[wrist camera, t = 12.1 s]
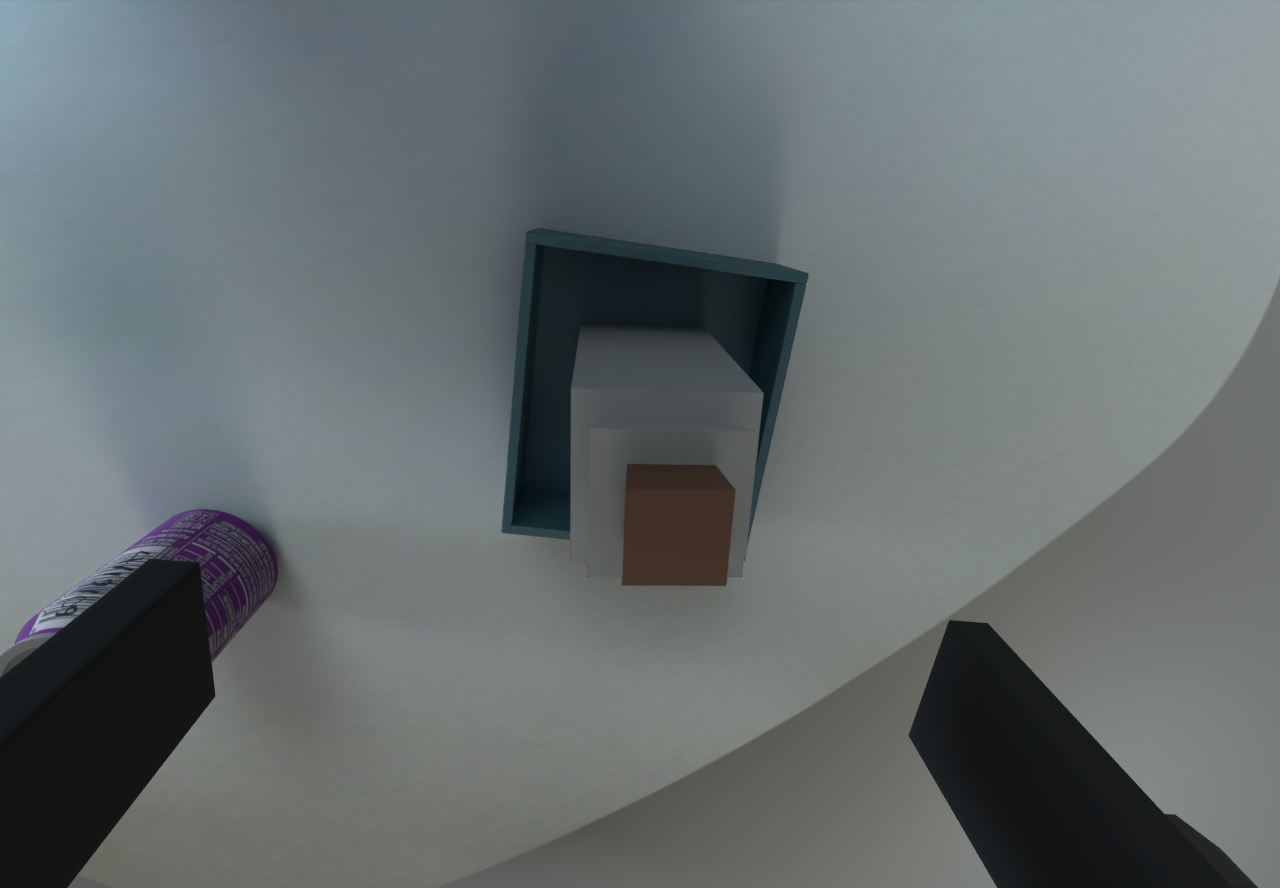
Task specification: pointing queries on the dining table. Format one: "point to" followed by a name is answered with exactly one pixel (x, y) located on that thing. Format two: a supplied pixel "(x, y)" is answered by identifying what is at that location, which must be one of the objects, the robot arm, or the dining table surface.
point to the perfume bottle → (661, 456)
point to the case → (641, 296)
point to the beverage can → (218, 540)
